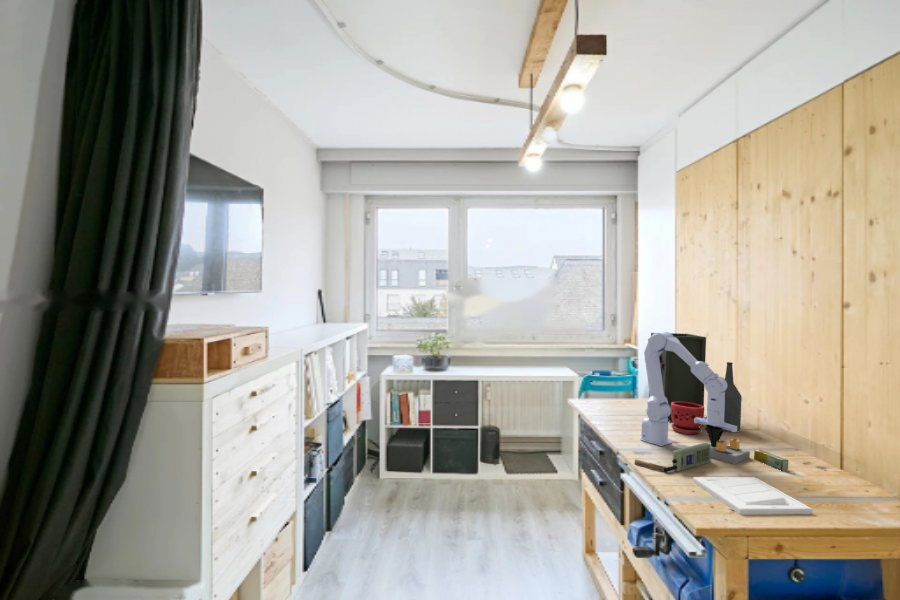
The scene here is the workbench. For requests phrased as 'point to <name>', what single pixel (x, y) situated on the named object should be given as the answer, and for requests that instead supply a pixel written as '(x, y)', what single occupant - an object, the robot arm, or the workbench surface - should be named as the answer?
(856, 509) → the workbench surface
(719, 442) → the breaker
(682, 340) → the tall dark green cabinet
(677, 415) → the plant pot
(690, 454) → the handheld radio
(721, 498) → the vent cover
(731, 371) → the bottle
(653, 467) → the wooden dowel
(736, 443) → the breaker
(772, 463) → the medication box
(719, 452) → the box
